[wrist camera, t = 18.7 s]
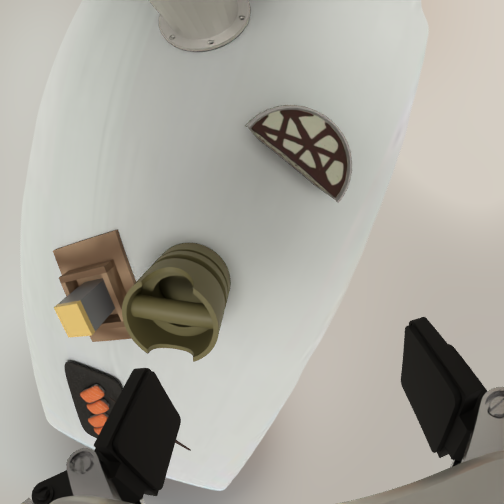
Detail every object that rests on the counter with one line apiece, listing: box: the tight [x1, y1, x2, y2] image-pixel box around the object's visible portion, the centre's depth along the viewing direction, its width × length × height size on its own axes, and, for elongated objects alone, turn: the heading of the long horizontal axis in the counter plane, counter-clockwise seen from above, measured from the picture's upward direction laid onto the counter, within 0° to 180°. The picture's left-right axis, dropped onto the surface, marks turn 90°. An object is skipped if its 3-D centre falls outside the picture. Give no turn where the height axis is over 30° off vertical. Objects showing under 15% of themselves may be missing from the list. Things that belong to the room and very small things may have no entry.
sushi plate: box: [65, 362, 190, 450], centre depth 53 cm, size 29×30×4 cm
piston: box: [122, 243, 231, 362], centre depth 36 cm, size 11×12×11 cm
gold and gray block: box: [54, 278, 115, 337], centre depth 38 cm, size 5×5×9 cm
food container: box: [245, 105, 352, 202], centre depth 30 cm, size 12×6×10 cm, turn 51°
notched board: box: [53, 230, 136, 342], centre depth 41 cm, size 18×14×4 cm
